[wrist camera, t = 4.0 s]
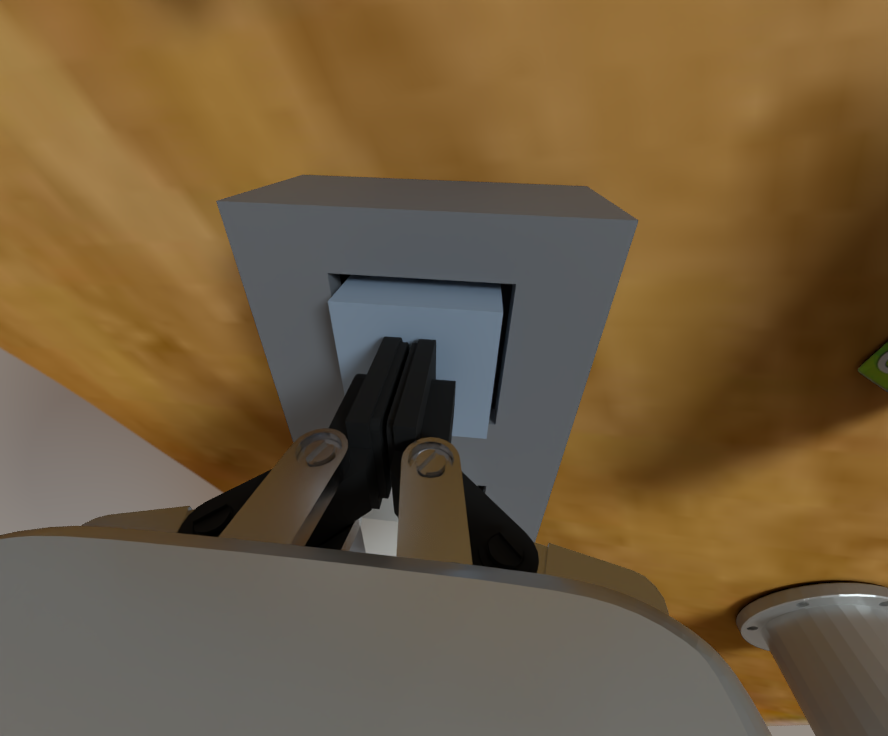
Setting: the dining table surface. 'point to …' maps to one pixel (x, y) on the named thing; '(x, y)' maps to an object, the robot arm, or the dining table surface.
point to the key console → (442, 258)
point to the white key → (381, 529)
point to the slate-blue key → (425, 334)
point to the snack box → (877, 368)
